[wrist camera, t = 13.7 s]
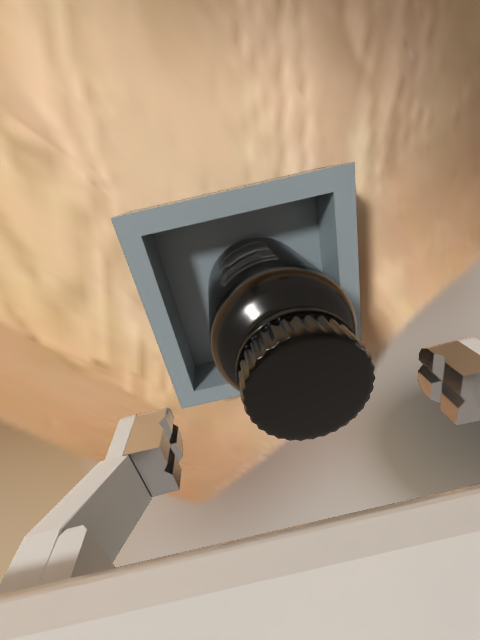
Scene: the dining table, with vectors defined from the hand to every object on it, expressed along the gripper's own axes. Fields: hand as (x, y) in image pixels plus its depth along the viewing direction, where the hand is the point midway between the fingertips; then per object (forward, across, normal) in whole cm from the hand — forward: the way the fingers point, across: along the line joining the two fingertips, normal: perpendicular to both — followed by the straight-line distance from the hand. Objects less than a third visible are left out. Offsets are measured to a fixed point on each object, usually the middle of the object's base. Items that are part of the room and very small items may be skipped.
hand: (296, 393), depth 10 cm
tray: (+13, 0, +1) cm, 13 cm away
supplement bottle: (+13, 0, +1) cm, 13 cm away
